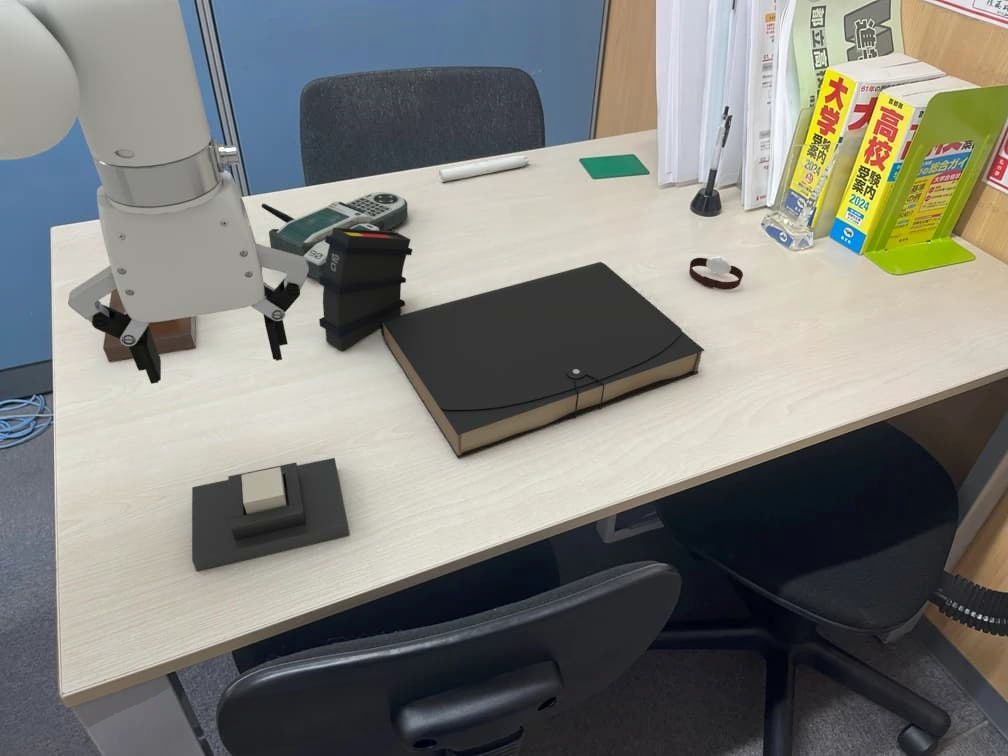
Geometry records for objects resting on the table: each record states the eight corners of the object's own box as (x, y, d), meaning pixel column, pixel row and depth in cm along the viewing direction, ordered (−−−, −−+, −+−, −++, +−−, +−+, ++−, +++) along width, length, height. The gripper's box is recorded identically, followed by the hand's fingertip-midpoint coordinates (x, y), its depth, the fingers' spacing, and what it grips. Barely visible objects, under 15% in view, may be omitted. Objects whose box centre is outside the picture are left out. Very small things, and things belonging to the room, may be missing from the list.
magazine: (301, 342, 88) (328, 226, 83) (376, 335, 99) (403, 231, 94) (321, 355, 86) (349, 237, 81) (395, 346, 97) (424, 241, 92)
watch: (742, 280, 105) (749, 259, 103) (735, 296, 102) (741, 275, 99) (692, 266, 108) (697, 245, 105) (683, 281, 104) (688, 260, 102)
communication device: (431, 223, 115) (429, 172, 109) (324, 288, 100) (316, 232, 94) (375, 201, 120) (371, 151, 114) (265, 260, 105) (254, 205, 99)
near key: (247, 515, 66) (243, 503, 65) (245, 486, 69) (241, 474, 68) (286, 506, 67) (283, 494, 66) (283, 478, 70) (280, 466, 69)
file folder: (458, 433, 74) (378, 312, 90) (459, 460, 76) (381, 338, 92) (706, 348, 86) (596, 255, 102) (699, 374, 89) (593, 279, 105)
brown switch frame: (195, 348, 89) (187, 322, 87) (108, 362, 87) (97, 336, 84) (195, 287, 99) (187, 263, 96) (117, 298, 97) (107, 273, 94)
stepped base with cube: (196, 571, 65) (186, 549, 63) (196, 497, 72) (187, 475, 69) (349, 535, 69) (345, 513, 66) (336, 468, 75) (332, 445, 73)
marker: (527, 162, 133) (527, 150, 132) (532, 166, 132) (533, 154, 130) (438, 179, 127) (438, 166, 125) (443, 184, 125) (443, 171, 124)
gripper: (283, 135, 54) (315, 318, 65) (25, 161, 49) (108, 353, 60) (296, 178, 48) (328, 369, 60) (8, 211, 44) (102, 412, 55)
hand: (217, 361), depth 60 cm, fingers open, 9 cm apart
